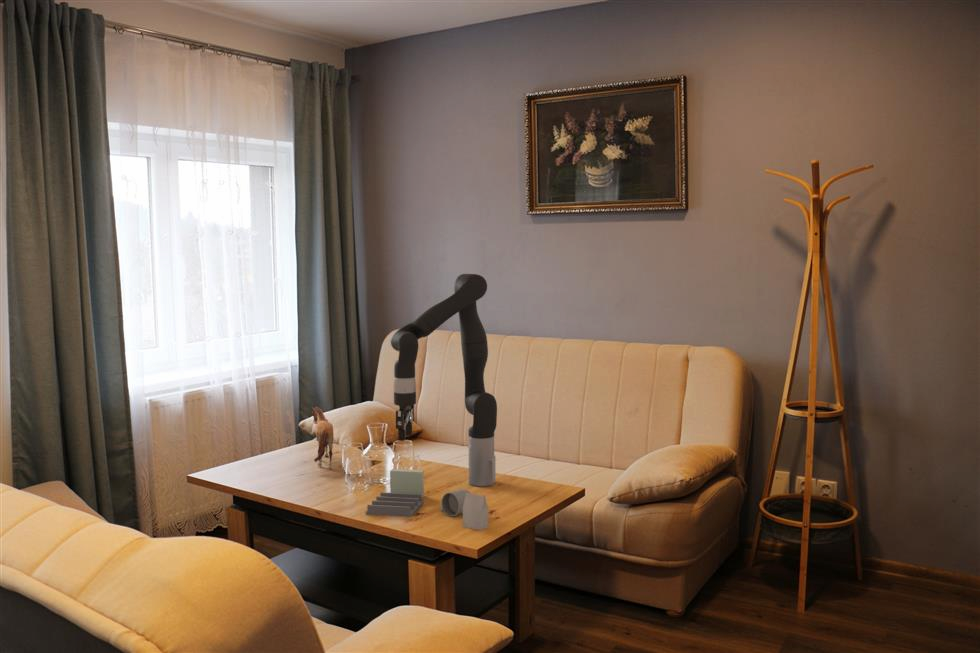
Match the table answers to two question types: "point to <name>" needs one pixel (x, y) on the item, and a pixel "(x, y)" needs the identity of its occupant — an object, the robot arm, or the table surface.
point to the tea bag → (475, 512)
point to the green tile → (407, 481)
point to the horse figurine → (323, 435)
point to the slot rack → (395, 504)
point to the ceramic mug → (453, 502)
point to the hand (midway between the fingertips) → (405, 437)
